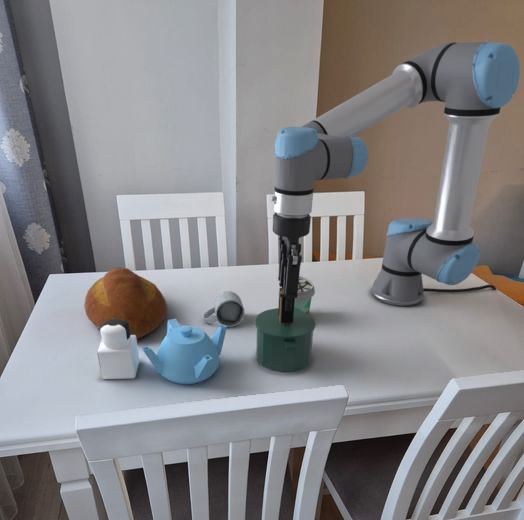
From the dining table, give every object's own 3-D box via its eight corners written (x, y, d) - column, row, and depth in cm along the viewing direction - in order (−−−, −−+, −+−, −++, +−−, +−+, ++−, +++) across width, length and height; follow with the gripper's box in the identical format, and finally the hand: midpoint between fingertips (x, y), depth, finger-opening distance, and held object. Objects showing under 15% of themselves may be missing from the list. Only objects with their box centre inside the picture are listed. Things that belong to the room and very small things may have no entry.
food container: (309, 330, 124) (312, 295, 119) (286, 327, 125) (288, 293, 120) (314, 310, 135) (317, 277, 129) (293, 307, 136) (295, 274, 130)
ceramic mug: (241, 312, 132) (240, 286, 128) (245, 326, 125) (244, 299, 121) (202, 314, 130) (201, 289, 126) (204, 329, 124) (203, 302, 120)
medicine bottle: (108, 361, 109) (100, 315, 103) (139, 361, 110) (133, 314, 103) (101, 379, 103) (92, 331, 97) (135, 379, 103) (128, 331, 97)
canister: (302, 339, 120) (305, 305, 115) (317, 379, 105) (321, 343, 100) (252, 340, 119) (253, 306, 114) (261, 382, 104) (262, 345, 99)
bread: (89, 351, 113) (80, 304, 106) (84, 295, 139) (77, 254, 132) (177, 338, 119) (173, 293, 112) (157, 287, 145) (153, 247, 139)
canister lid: (308, 311, 114) (311, 277, 109) (320, 340, 102) (324, 303, 98) (252, 313, 112) (252, 279, 108) (258, 342, 101) (259, 305, 96)
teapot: (231, 356, 112) (230, 316, 107) (212, 393, 100) (210, 350, 94) (170, 348, 115) (166, 308, 109) (144, 383, 102) (138, 340, 97)
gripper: (268, 203, 100) (264, 303, 113) (279, 225, 87) (273, 336, 99) (303, 203, 101) (295, 302, 114) (319, 225, 88) (308, 335, 100)
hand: (285, 318), depth 106 cm, fingers closed on canister lid, 3 cm apart
